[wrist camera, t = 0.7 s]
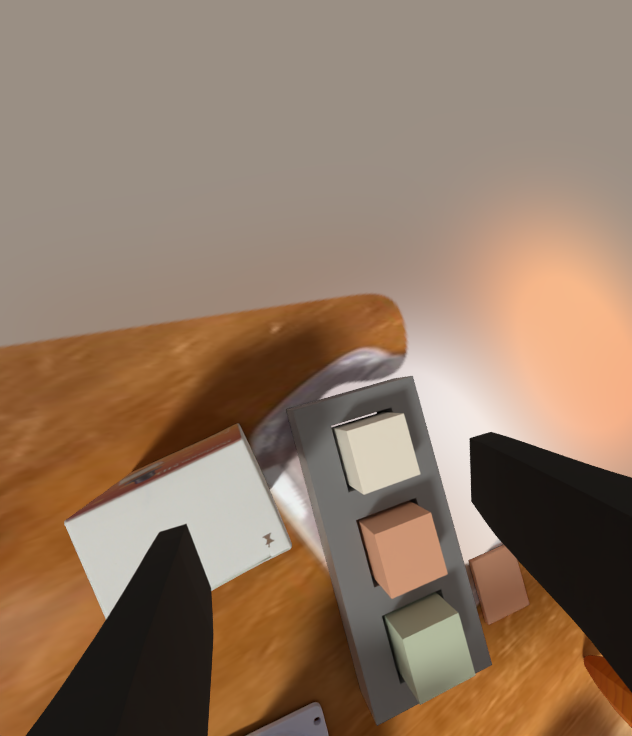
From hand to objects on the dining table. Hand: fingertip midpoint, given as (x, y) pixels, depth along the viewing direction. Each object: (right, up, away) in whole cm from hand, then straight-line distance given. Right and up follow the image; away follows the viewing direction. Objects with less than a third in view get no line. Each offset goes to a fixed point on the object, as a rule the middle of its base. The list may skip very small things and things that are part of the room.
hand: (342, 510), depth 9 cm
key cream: (+3, -2, +18) cm, 18 cm away
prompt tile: (+14, -14, +21) cm, 29 cm away
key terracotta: (+4, -8, +18) cm, 20 cm away
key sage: (+6, -15, +17) cm, 24 cm away
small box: (-9, -4, +17) cm, 20 cm away
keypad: (+4, -9, +19) cm, 22 cm away
